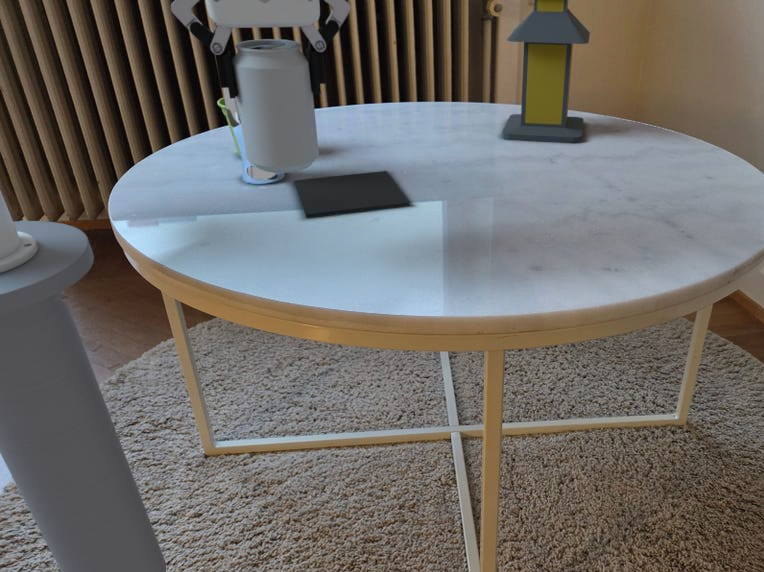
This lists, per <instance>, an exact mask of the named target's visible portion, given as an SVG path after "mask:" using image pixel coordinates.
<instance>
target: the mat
mask: <svg viewBox="0 0 764 572" xmlns="http://www.w3.org/2000/svg"><path fill="white" fill-rule="evenodd" d="M293 185H294V187H295V190H296V193H297V196H298V199H299V201H300V204H301V207H302V210H303V213H304V215H305V218H316V217H323V216H334V215H341V214H349V213H359V212H366V211H368V212H369V211H376V210H383V209H393V208H401V207H409V206H410V202H409V200H408V199H407V197H406V196H405V195H404V193H403V192H402V191H401V189H400V187H399V186H398V185H397V183H396V182H395V181H394V179H393V178H392V176H391V175H390V174H389V172H388V171H387V170H381V171H380V170H379V171H373V172H372V171H371V172H361V173H351V174H342V175H341V174H340V175H331V176H322V177H321V176H320V177H312V178H302V179H294V180H293Z"/></svg>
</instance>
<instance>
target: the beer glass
mask: <svg viewBox="0 0 764 572" xmlns="http://www.w3.org/2000/svg"><path fill="white" fill-rule="evenodd" d="M222 92H223V94H222V95H223V98H224V100H225V106H226V110H227V115H228V118H229V121H230V124H231V127H232V129H233V132H234V135H235V138H236V140H237V143H238V146H239V149H240V152H241V157H240V158H241V164H242V165H241V169H242V171H241V173H242V174H241V176H242V180H243V182H244V183H248V184H251V185H269V184H272V183H273V184H274V183H276V182H280V181H282V180H283V179H284V178H285V173H273V172H266V171H262V170H260V169H258V168H257V167H256V166H255V165H254V164H252V163H251V162H249V161H248V159H247V157H246V151H245V145H244V139H243V132H242V126H241V120H240V114H239V108H238V102H237V97H235V98H230V95H229V89H228V88H222Z"/></svg>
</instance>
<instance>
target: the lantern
mask: <svg viewBox="0 0 764 572" xmlns="http://www.w3.org/2000/svg"><path fill="white" fill-rule="evenodd" d="M590 34H591V32H590V31H589V30H588V28H586V27H585V25H584V24H583V23H582V22H581V21H580V20H579V19H578V17H576V16H575V14H573V12H572V11H571V10H570V9H569V0H533V10H532V11H531V12H530V13H529V14H528V16H527V17H525V18H524V19H523V20H522V21H521V22H520V23H519V25H517V26H516V28H515V29H513V31H512V32H511V33H510V35H509V36H508V37H507V38H506V41H507V42H513V43H514V42H515V43H523V60H522V81H521V82H522V83H521V84H522V85H521V105H520V106H521V110H520V111H521V112H520V113H513V114H510V115H509V117H508V118H507V121H506V123H505V125H504V128H503V130H502V133H501V135H502V136H501V137H502V139H504V140H510V141H529V142H533V141H534V142H550V143H570V144H579V143H581V142H582V138H583V129H584V118H582V117H580V116H568V114H569V113H568V112H569V99H570V88H571V87H570V86H571V76H572V75H571V74H572V61H573V47H574V45H586V44H589V41H590Z"/></svg>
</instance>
